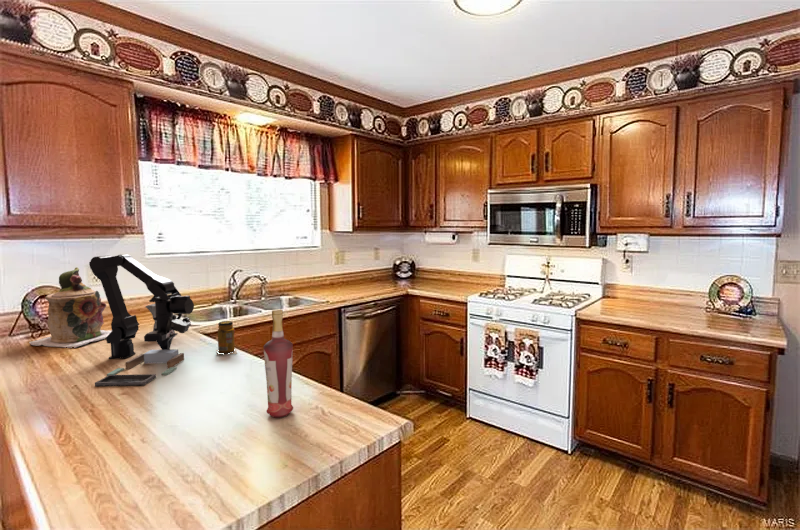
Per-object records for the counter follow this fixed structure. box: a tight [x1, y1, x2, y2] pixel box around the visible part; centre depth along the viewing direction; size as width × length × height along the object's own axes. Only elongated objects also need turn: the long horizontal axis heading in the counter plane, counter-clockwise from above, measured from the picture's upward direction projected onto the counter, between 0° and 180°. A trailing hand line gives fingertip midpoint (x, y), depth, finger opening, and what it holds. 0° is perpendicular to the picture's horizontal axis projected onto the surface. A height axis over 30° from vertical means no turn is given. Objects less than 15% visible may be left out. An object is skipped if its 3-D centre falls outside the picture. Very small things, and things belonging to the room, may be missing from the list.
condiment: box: [215, 320, 238, 356], centre depth 165 cm, size 7×8×12 cm
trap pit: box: [94, 373, 157, 388], centre depth 134 cm, size 15×7×1 cm, turn 92°
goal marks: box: [106, 366, 177, 376], centre depth 143 cm, size 20×6×1 cm, turn 92°
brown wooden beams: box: [124, 352, 185, 370], centre depth 151 cm, size 15×10×2 cm, turn 92°
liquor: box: [263, 308, 294, 419], centre depth 109 cm, size 7×7×28 cm
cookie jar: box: [28, 267, 112, 349], centre depth 183 cm, size 25×25×32 cm
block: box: [143, 348, 180, 364], centre depth 155 cm, size 10×5×4 cm, turn 93°
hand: (166, 353), depth 159 cm, fingers closed
